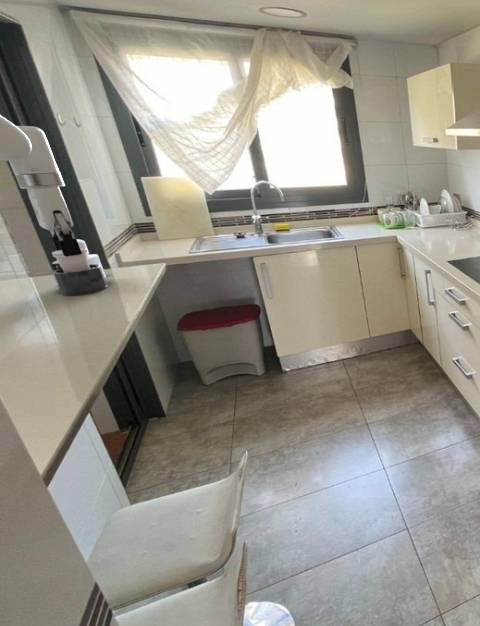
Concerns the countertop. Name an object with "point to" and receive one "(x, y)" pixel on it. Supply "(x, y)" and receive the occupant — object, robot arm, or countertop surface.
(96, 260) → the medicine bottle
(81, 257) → the smoothie
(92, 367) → the countertop surface
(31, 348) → the countertop surface
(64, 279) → the stand
